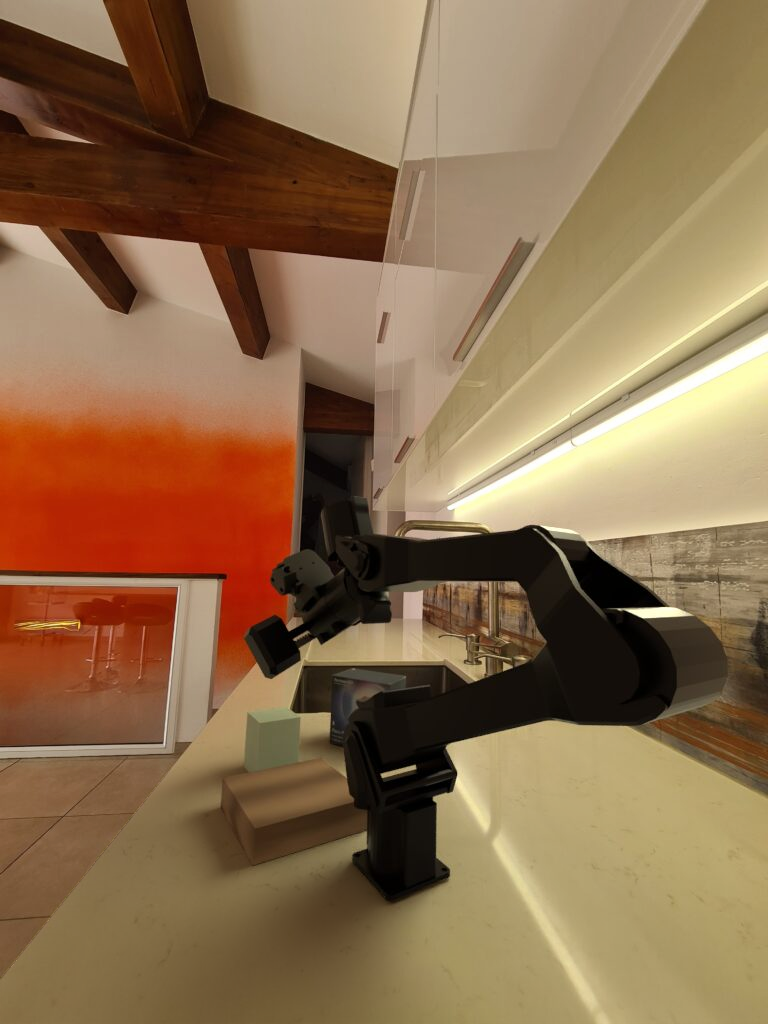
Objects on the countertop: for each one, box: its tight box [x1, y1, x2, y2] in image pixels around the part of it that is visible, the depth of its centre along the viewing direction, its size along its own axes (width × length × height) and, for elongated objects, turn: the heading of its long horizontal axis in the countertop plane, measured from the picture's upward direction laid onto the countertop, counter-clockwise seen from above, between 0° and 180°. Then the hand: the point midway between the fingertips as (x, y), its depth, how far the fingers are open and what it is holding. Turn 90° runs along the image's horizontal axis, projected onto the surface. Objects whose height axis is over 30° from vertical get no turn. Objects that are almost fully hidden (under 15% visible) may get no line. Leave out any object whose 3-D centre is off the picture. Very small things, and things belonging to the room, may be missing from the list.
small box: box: [328, 667, 407, 747], centre depth 71 cm, size 11×6×10 cm, turn 62°
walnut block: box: [220, 757, 368, 866], centre depth 48 cm, size 12×12×3 cm
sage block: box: [243, 706, 302, 773], centre depth 61 cm, size 6×6×7 cm
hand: (294, 639), depth 63 cm, fingers open, 9 cm apart
